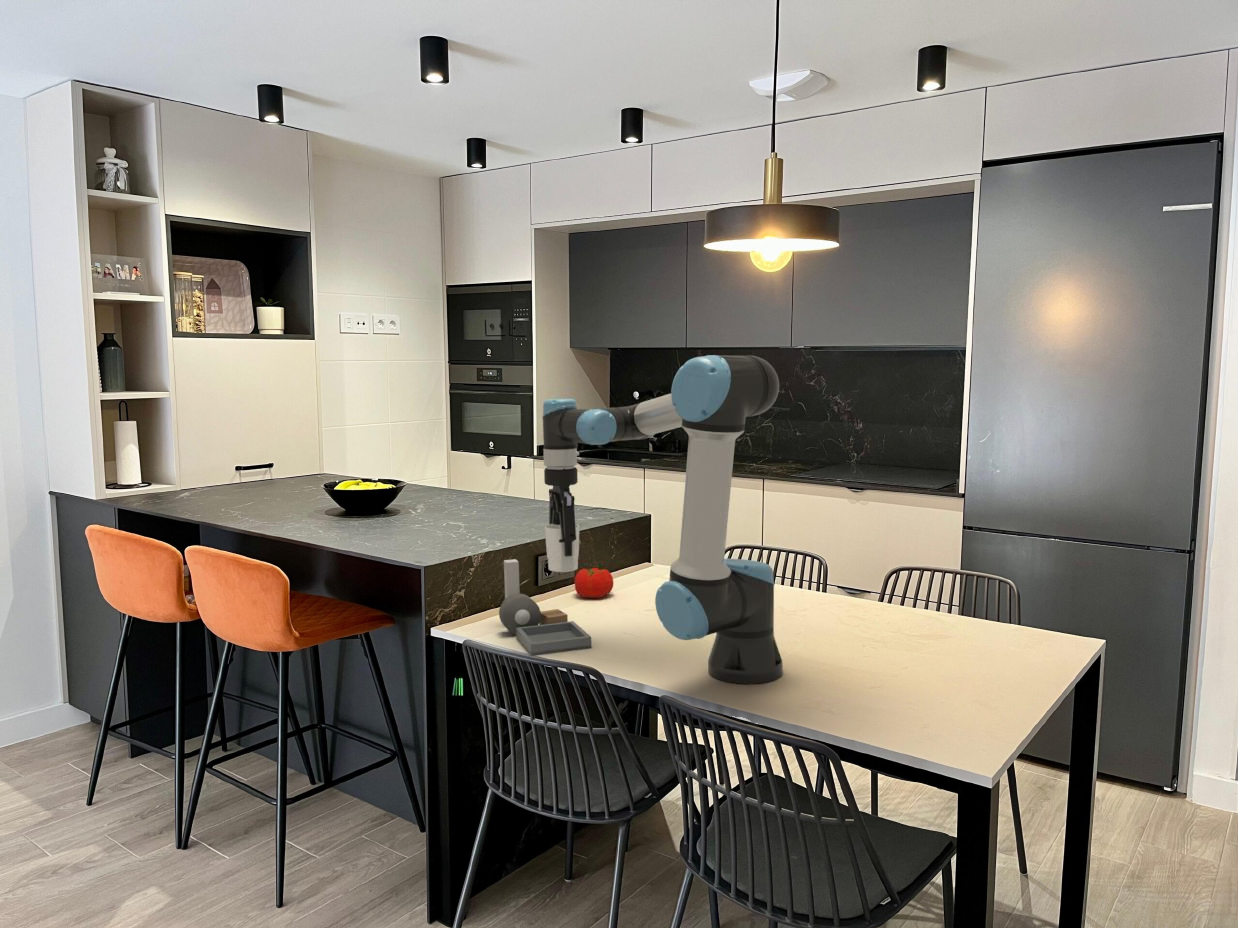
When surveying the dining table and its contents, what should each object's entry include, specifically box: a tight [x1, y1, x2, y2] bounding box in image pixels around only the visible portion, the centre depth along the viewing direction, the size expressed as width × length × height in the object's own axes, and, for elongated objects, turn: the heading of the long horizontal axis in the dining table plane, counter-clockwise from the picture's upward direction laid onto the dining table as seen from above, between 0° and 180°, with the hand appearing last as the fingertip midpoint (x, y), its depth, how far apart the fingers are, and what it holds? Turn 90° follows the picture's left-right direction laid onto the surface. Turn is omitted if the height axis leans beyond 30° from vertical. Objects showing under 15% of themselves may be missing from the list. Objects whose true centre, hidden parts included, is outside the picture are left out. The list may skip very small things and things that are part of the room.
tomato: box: [574, 567, 614, 599], centre depth 250 cm, size 11×11×8 cm
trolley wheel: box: [498, 558, 541, 636], centre depth 219 cm, size 12×9×16 cm
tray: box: [515, 620, 593, 656], centre depth 208 cm, size 14×14×2 cm
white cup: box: [544, 523, 580, 573], centre depth 207 cm, size 8×8×10 cm
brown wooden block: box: [539, 608, 569, 625], centre depth 220 cm, size 6×5×4 cm
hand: (562, 565), depth 208 cm, fingers closed on white cup, 7 cm apart
